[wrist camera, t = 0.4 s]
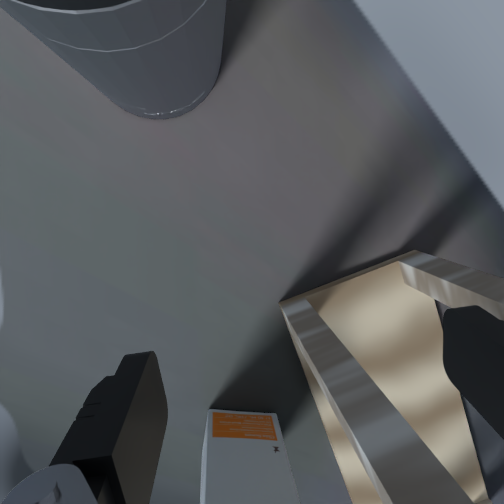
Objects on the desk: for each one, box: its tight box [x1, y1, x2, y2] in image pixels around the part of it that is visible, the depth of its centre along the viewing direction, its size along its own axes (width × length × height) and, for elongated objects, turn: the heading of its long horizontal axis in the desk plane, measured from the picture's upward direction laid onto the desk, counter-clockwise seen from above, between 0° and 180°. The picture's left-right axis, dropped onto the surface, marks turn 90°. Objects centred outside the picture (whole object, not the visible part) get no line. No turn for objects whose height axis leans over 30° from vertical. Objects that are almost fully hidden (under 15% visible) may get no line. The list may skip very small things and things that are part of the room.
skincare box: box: [200, 409, 300, 504], centre depth 26 cm, size 6×4×12 cm
